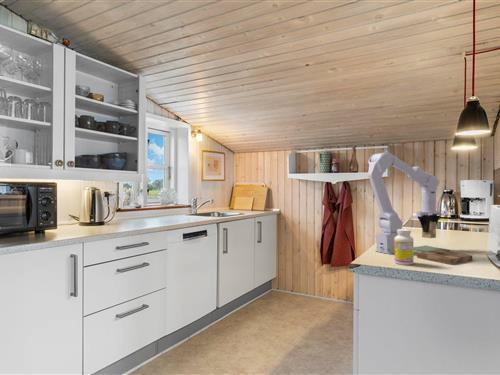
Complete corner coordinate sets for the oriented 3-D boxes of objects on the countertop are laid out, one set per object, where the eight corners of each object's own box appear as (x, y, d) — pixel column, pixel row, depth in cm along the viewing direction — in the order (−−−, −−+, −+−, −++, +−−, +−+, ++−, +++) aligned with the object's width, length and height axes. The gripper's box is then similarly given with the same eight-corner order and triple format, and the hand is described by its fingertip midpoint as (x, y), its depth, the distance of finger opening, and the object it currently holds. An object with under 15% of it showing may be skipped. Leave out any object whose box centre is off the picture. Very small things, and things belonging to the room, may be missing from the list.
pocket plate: (450, 264, 131) (450, 259, 131) (417, 257, 143) (417, 252, 143) (472, 260, 137) (472, 255, 137) (438, 254, 150) (438, 249, 150)
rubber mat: (432, 253, 151) (432, 252, 151) (408, 249, 162) (408, 247, 162) (449, 250, 157) (449, 249, 157) (425, 246, 167) (425, 245, 167)
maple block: (430, 238, 156) (430, 222, 156) (422, 237, 160) (422, 221, 160) (435, 237, 158) (435, 222, 158) (427, 236, 162) (427, 221, 162)
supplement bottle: (397, 260, 138) (397, 228, 138) (415, 263, 134) (415, 229, 134) (392, 263, 133) (392, 230, 133) (410, 266, 129) (410, 231, 129)
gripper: (426, 202, 152) (426, 233, 152) (447, 201, 159) (447, 231, 159) (412, 201, 158) (412, 232, 158) (432, 200, 165) (432, 229, 165)
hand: (428, 231), depth 159 cm, fingers closed on maple block, 4 cm apart
